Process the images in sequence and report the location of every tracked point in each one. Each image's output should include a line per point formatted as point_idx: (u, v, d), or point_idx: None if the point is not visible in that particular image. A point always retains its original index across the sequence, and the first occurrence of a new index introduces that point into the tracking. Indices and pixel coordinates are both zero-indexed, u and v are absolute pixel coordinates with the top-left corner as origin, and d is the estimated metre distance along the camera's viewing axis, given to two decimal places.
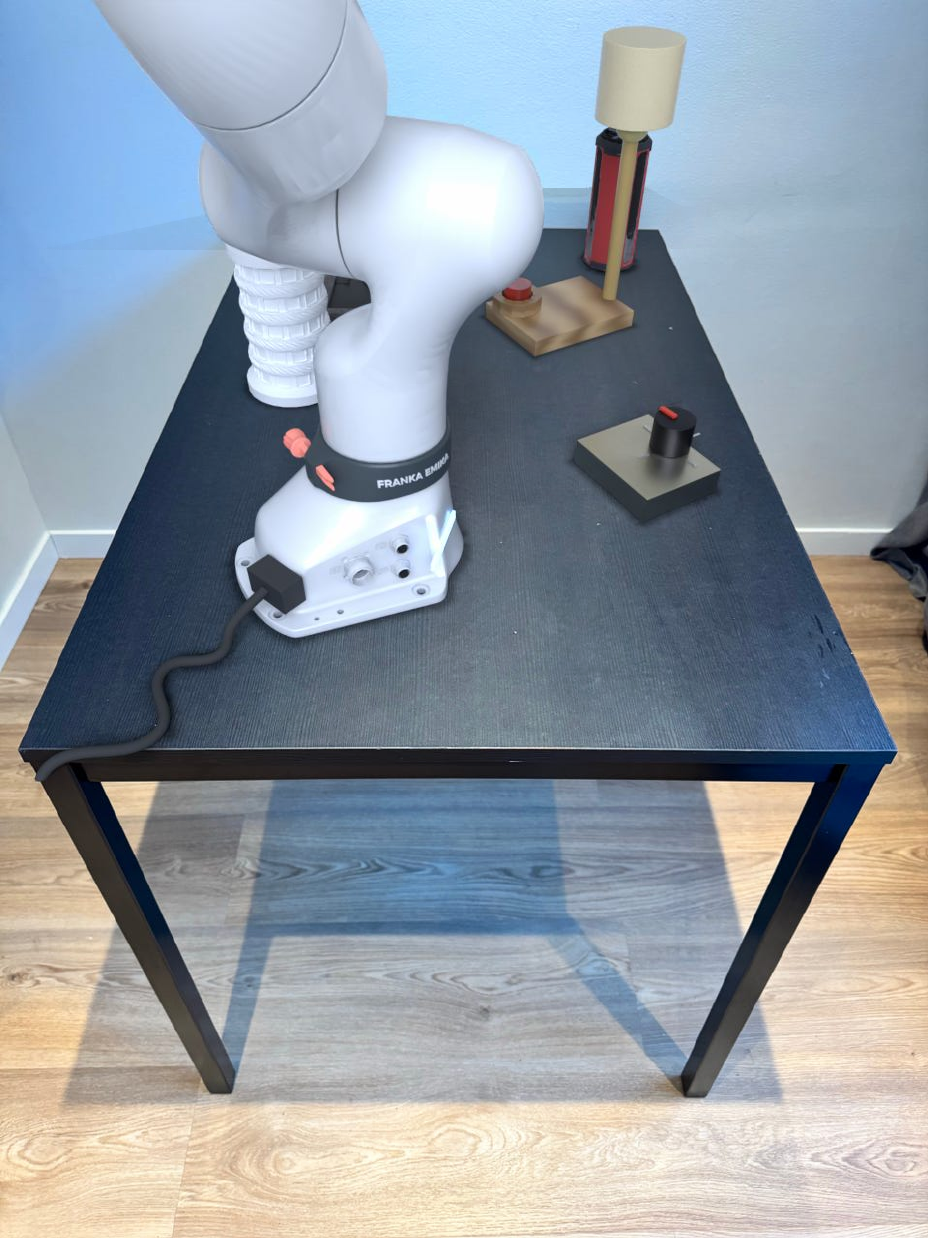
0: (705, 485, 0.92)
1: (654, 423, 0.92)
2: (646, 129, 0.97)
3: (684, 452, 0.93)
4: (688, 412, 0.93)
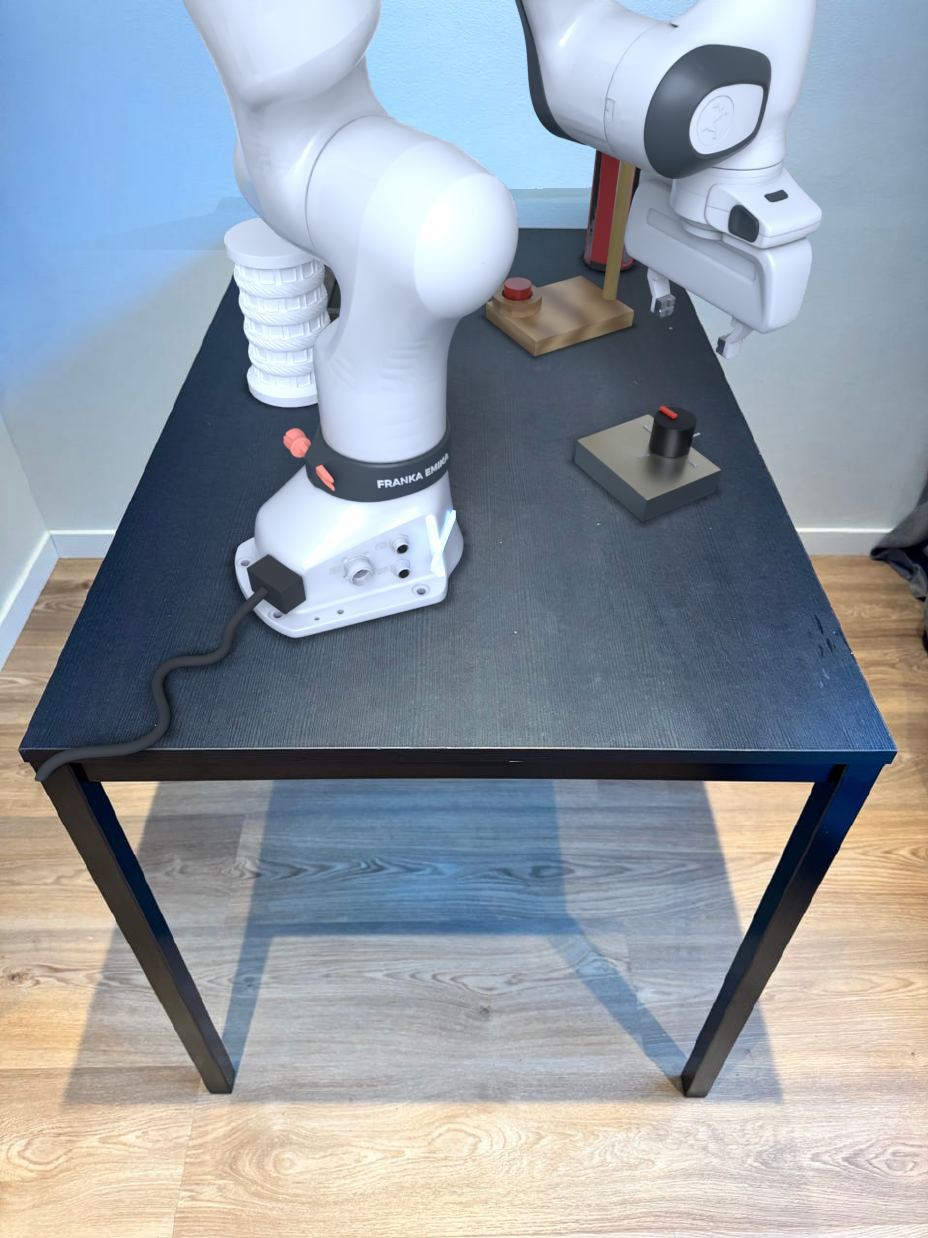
0: (705, 485, 0.92)
1: (654, 423, 0.92)
2: None
3: (684, 452, 0.93)
4: (688, 412, 0.93)
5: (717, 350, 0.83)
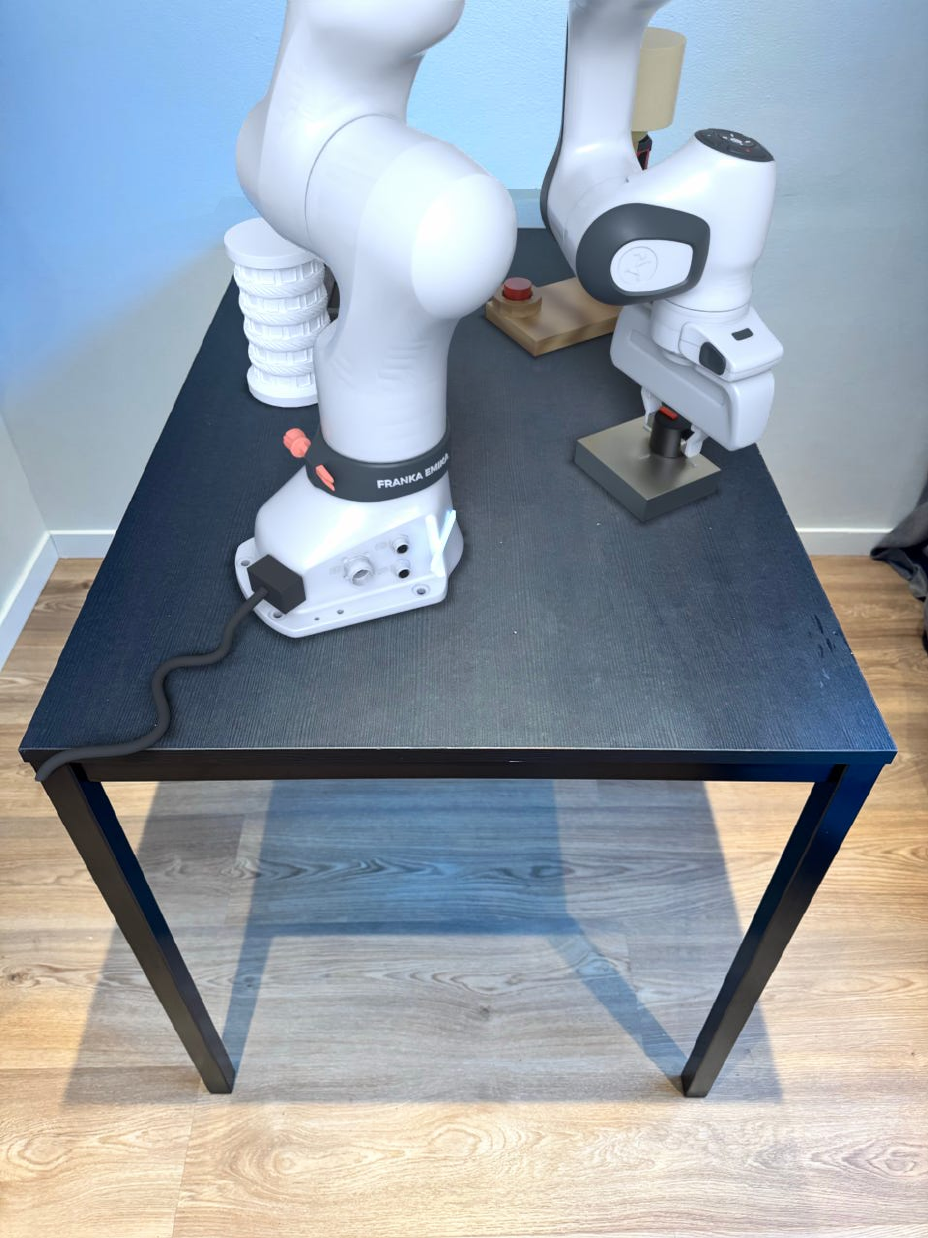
0: (705, 485, 0.92)
1: (654, 423, 0.92)
2: (646, 129, 0.97)
3: None
4: None
5: (680, 449, 0.92)
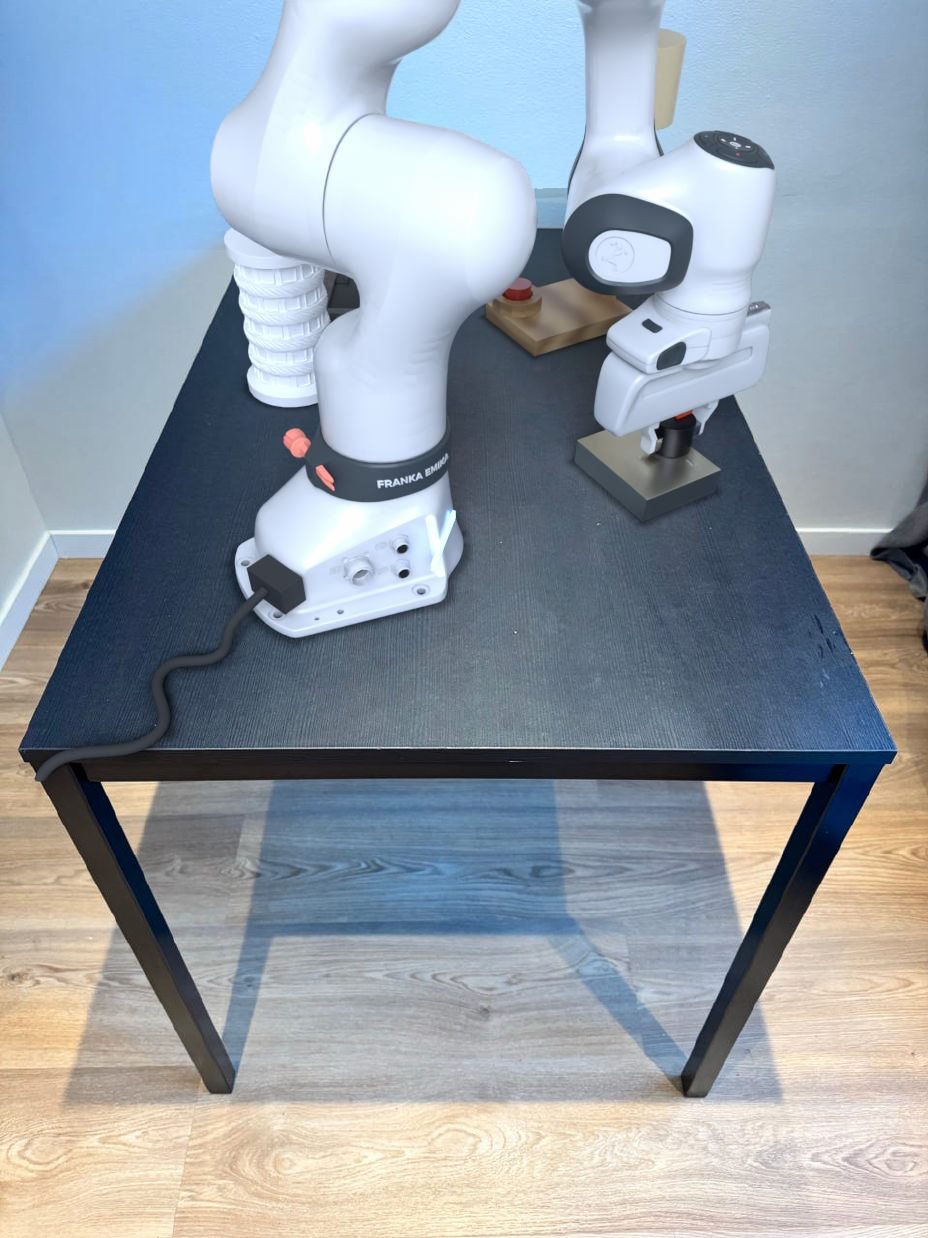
0: (705, 485, 0.92)
1: None
2: None
3: None
4: (687, 427, 0.91)
5: None
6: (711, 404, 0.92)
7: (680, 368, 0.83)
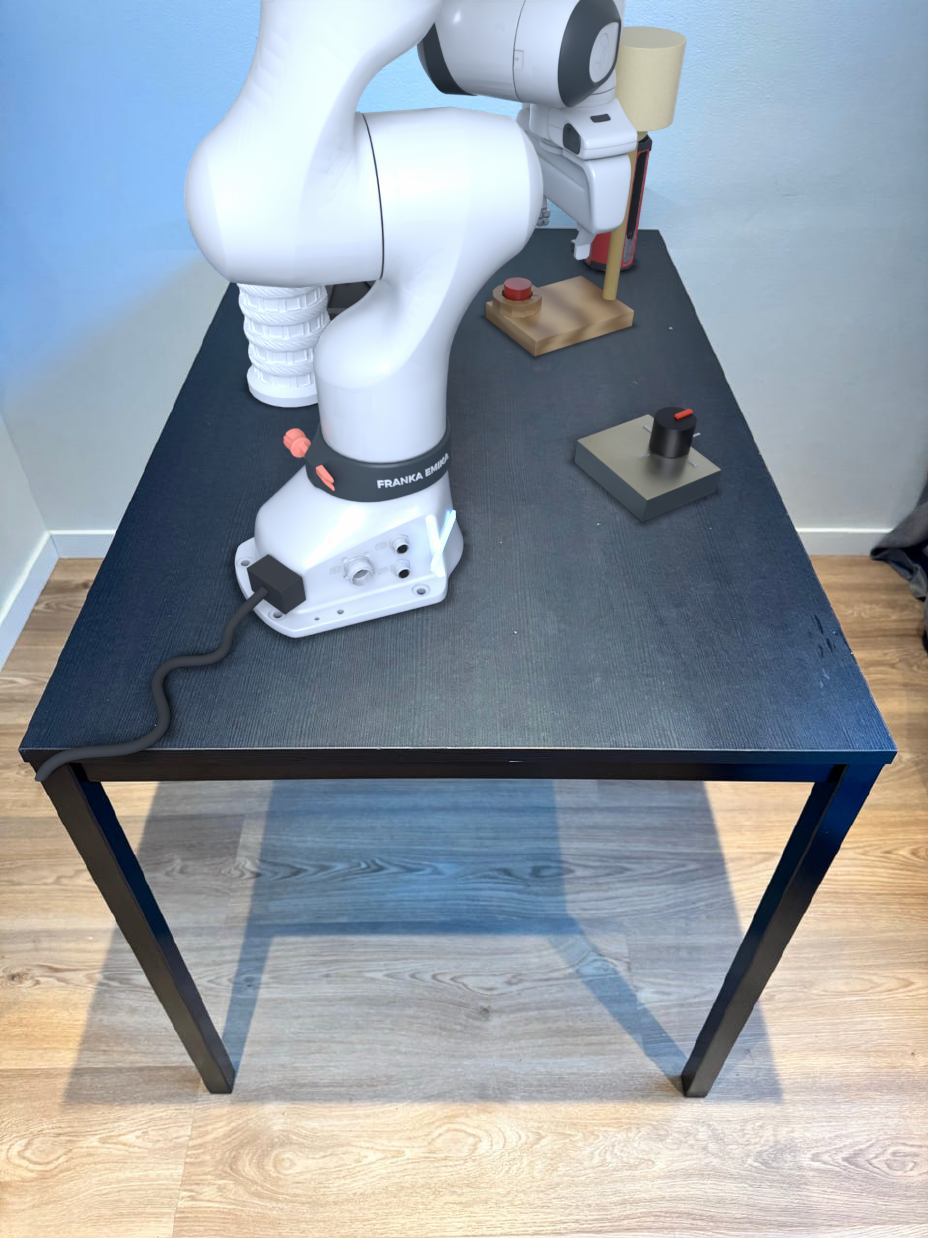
0: (705, 485, 0.92)
1: None
2: (646, 129, 0.97)
3: (654, 448, 0.94)
4: (687, 427, 0.91)
5: (570, 252, 1.01)
6: None
7: None
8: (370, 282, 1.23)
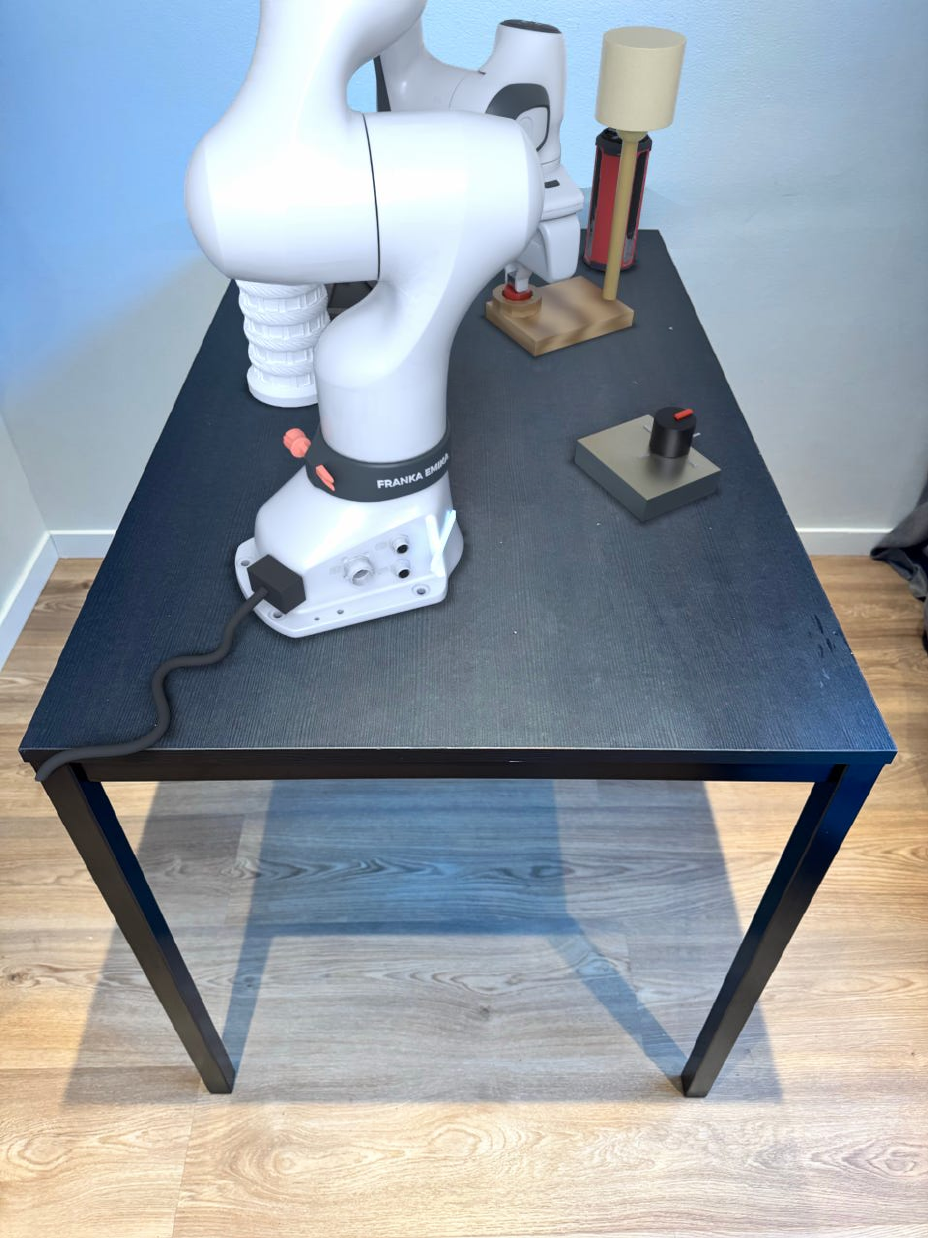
0: (705, 485, 0.92)
1: None
2: (646, 129, 0.97)
3: (654, 448, 0.94)
4: (687, 427, 0.91)
5: (511, 285, 1.15)
6: None
7: None
8: (370, 282, 1.23)
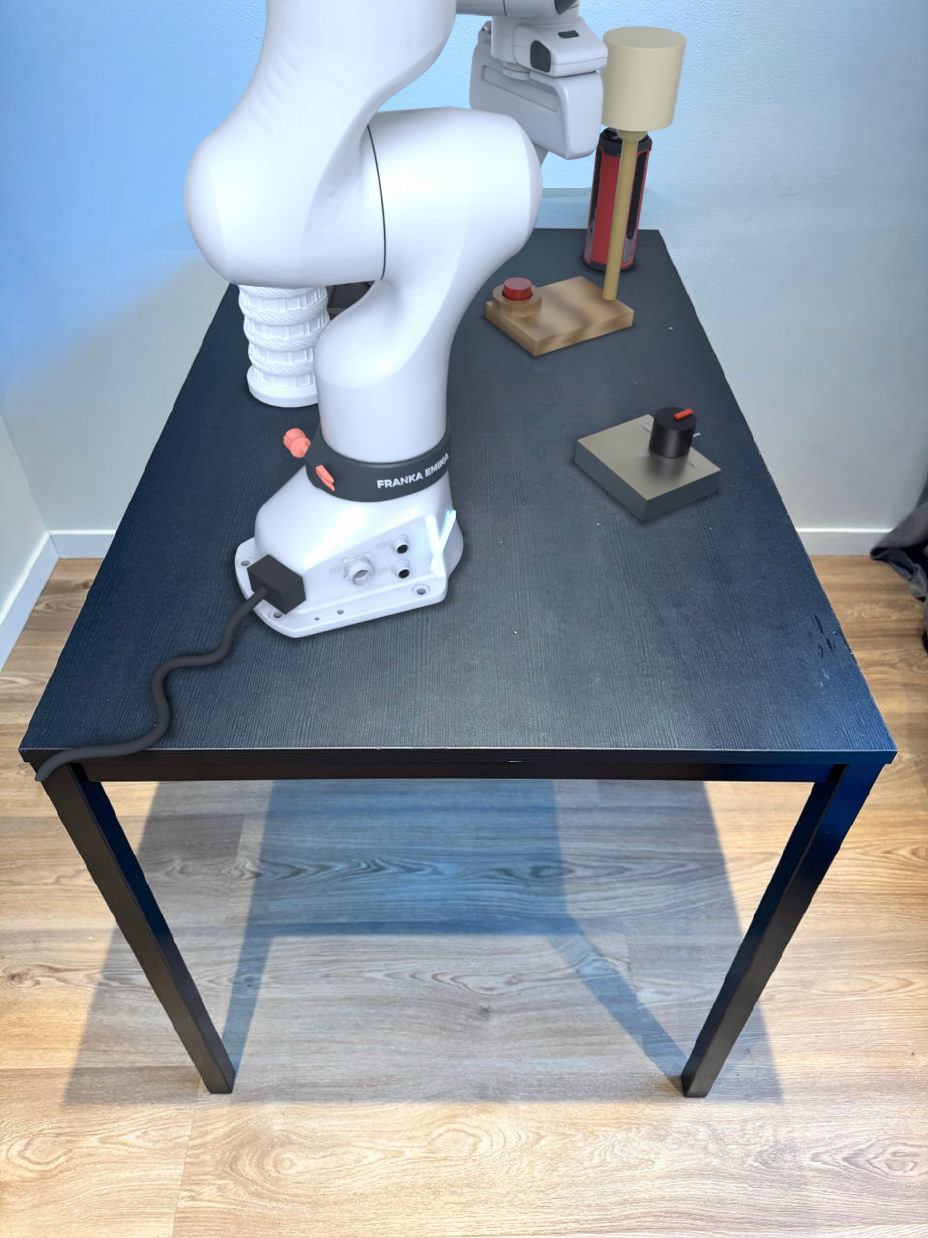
0: (705, 485, 0.92)
1: None
2: (646, 129, 0.97)
3: (654, 448, 0.94)
4: (687, 427, 0.91)
5: None
6: None
7: None
8: (370, 282, 1.23)
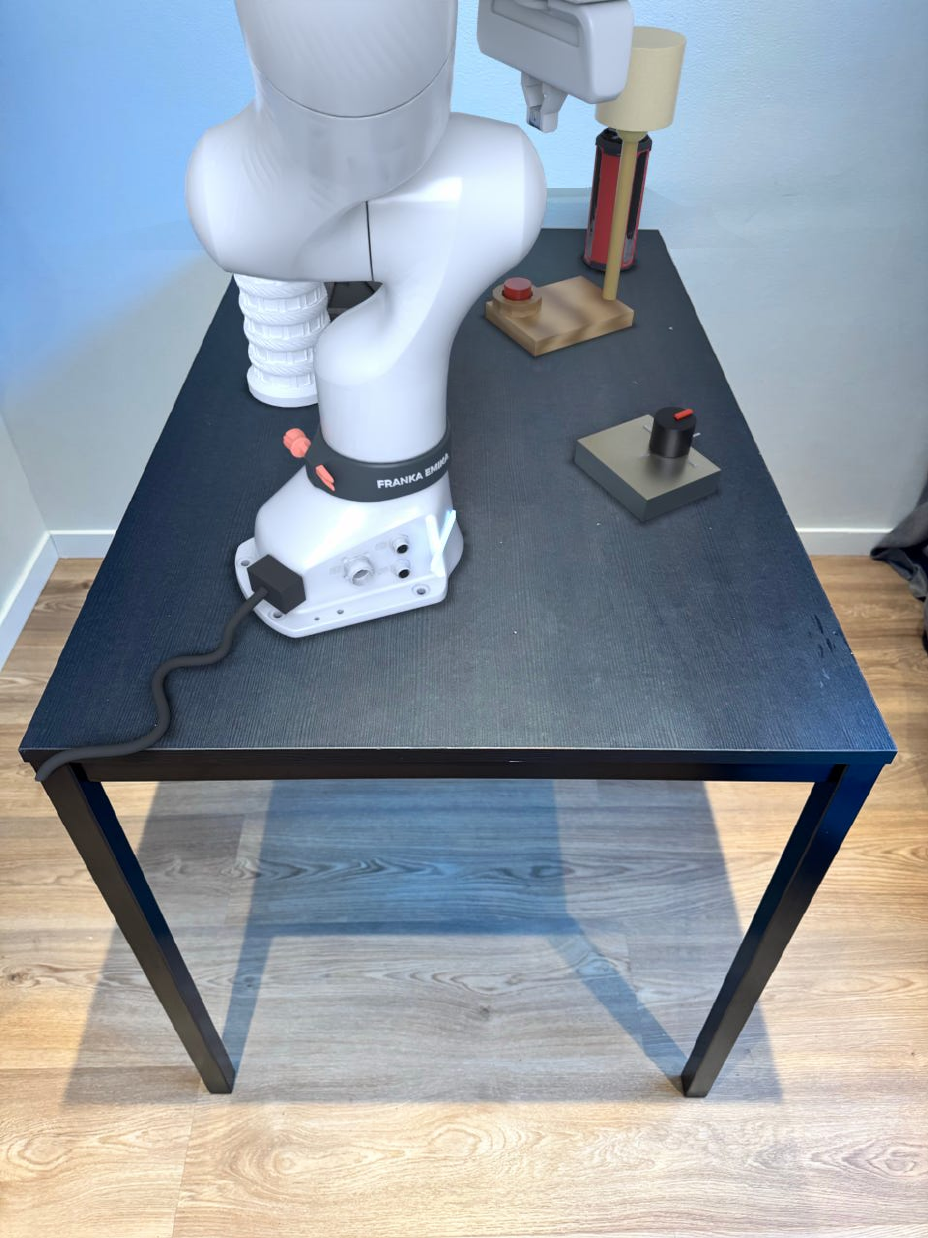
0: (705, 485, 0.92)
1: None
2: (646, 129, 0.97)
3: (654, 448, 0.94)
4: (687, 427, 0.91)
5: (535, 124, 0.87)
6: None
7: None
8: (370, 282, 1.23)
